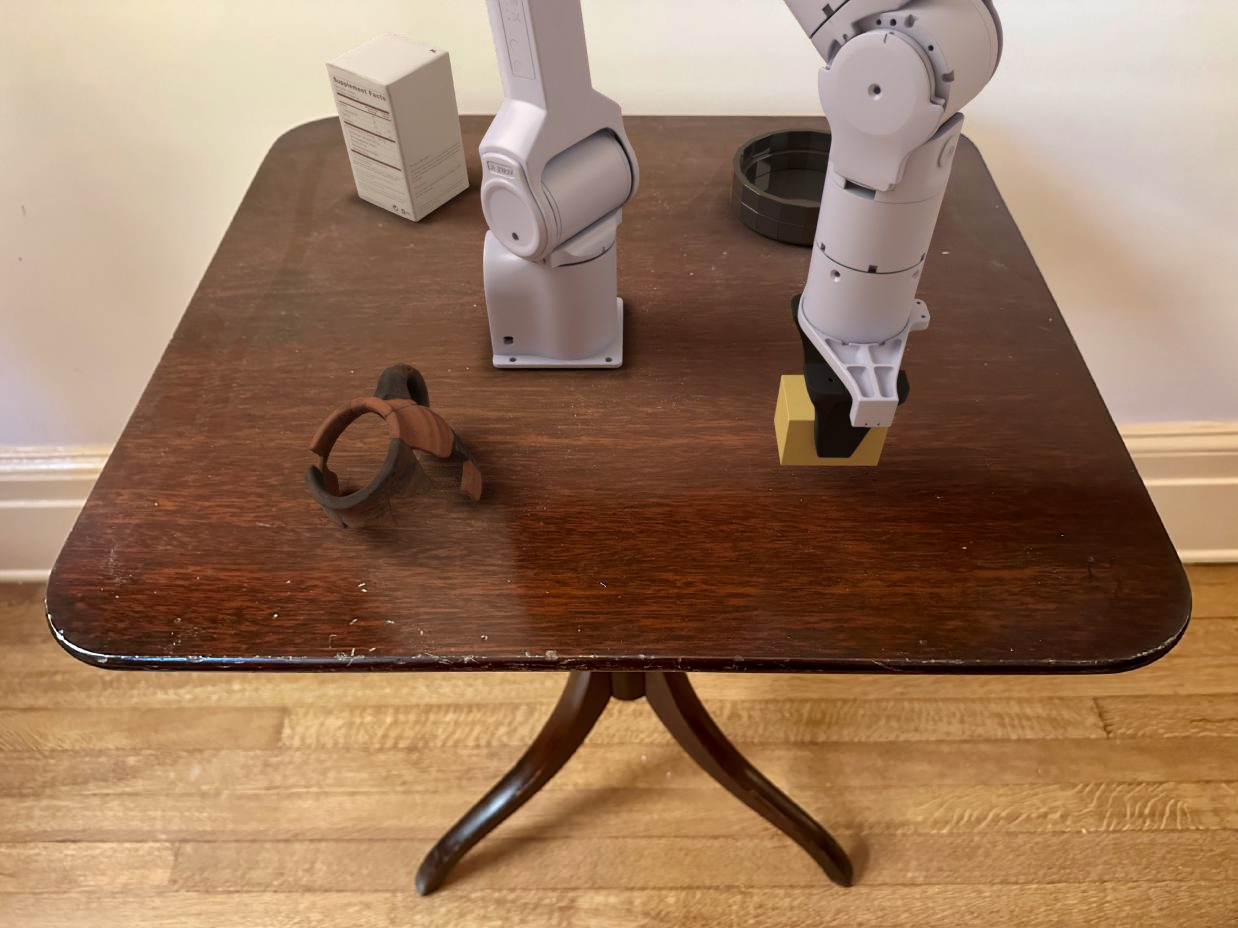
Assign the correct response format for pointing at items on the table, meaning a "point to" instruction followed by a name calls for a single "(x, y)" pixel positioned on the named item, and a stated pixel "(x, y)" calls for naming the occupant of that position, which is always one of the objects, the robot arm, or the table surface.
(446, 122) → the white packaging box
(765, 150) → the pan
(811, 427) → the yellow box
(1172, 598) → the table surface
